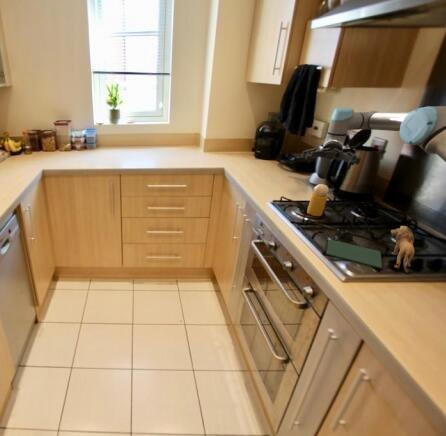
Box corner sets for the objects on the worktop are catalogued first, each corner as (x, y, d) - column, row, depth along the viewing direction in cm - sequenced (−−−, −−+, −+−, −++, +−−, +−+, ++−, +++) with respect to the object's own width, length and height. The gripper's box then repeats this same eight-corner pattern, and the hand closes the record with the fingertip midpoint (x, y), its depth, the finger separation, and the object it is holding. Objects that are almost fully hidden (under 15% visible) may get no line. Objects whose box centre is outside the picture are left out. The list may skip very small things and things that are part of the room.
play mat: (379, 253, 100) (380, 251, 99) (381, 269, 92) (382, 267, 92) (328, 241, 107) (328, 239, 106) (326, 255, 99) (326, 253, 99)
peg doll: (322, 212, 125) (331, 183, 119) (321, 218, 121) (330, 188, 115) (307, 209, 127) (315, 181, 122) (305, 214, 124) (314, 185, 118)
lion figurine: (382, 246, 103) (392, 222, 99) (402, 249, 101) (414, 225, 97) (395, 272, 91) (408, 246, 87) (419, 276, 89) (433, 250, 85)
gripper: (363, 161, 134) (364, 177, 118) (298, 153, 146) (291, 166, 131) (370, 144, 130) (371, 158, 115) (302, 137, 143) (295, 148, 127)
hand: (328, 162), depth 123 cm, fingers open, 13 cm apart
